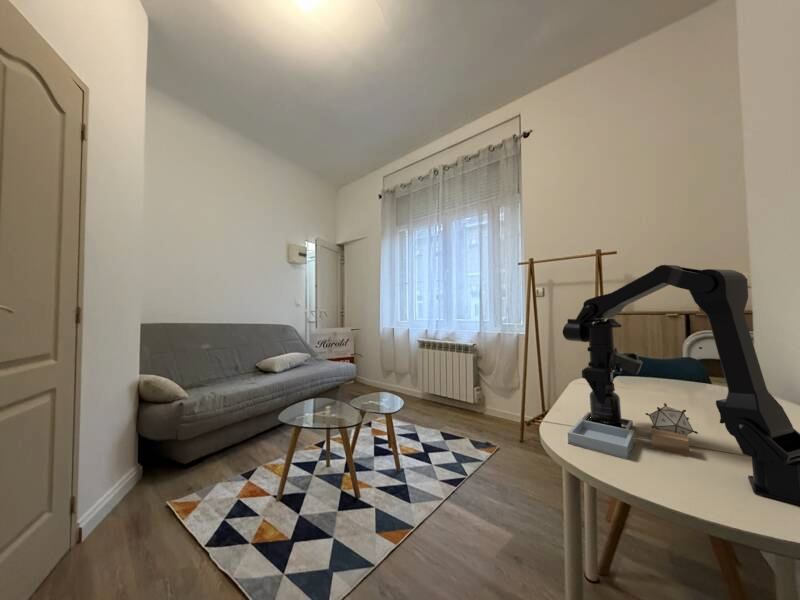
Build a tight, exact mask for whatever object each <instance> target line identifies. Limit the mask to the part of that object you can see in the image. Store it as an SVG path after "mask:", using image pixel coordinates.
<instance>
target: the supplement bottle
mask: <svg viewBox="0 0 800 600" xmlns="http://www.w3.org/2000/svg"><path fill="white" fill-rule="evenodd" d="M615 391H616V388H615V384H614V382H613V383H612V382H611V383H610V384H608V385H607V392H606V399H605V404H600V403H599V401H598V400H597V398H596V396H595V394H594V392H593V391H592V390H591V392H590V393H589V403H590V404H589V405H590V407H589V409H590V412H591V418H590V419H591V420H590V422H595V423H600V424H604V425H609V426H614V427H619V428H622V427H623V425H622V421H621V418H622V410H621V397H620V396H619V394H617V392H615Z"/></svg>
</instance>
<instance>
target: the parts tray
mask: <svg viewBox="0 0 800 600" xmlns="http://www.w3.org/2000/svg"><path fill="white" fill-rule="evenodd" d="M635 440H636V439H635V430H633V429H631V430H628V429H626V428H619V427H614V426H609V425H604V424H600V423H595V422H592V421H591V420H588V421H585V420H581V419H579V420H578V421H577V422H576V423H575V424H574V425H573V426H572V428H570V429H569V430H568V431H567V444H568V445H573V446H576V447H580V448H584V449H587V450H591V451H595V452H599V453H602V454H606V455H610V456H614V457H617V458H622V459H625V460H628V459H629V457H630V456H631V452H632V450H633V447H634V445H635Z"/></svg>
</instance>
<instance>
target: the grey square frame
mask: <svg viewBox="0 0 800 600" xmlns="http://www.w3.org/2000/svg"><path fill="white" fill-rule="evenodd" d="M590 417H591V411H588V412H587V413H586V414H584V416H583V417H582V418H581V419H580V420H585V421H590V419H591V418H590ZM589 418H590V419H589ZM621 421H622V426H625V429H628V430H633V427H634V424H633V423H634V421H633V420H631V419H626V418H622V417H621Z"/></svg>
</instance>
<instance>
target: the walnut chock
mask: <svg viewBox="0 0 800 600" xmlns="http://www.w3.org/2000/svg"><path fill="white" fill-rule="evenodd" d="M689 441H690V440H689V436H688V435H684V434H678V433H673V432H667V431H662V430H657V429H655V428H651V442H652V445H651V446H652V450H656V451H660V452H661V451H662V452H664V453H665V452H666V453H670V454H674V455H678V456H682V457H687V458H690V445H689V444H690V443H689Z"/></svg>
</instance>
